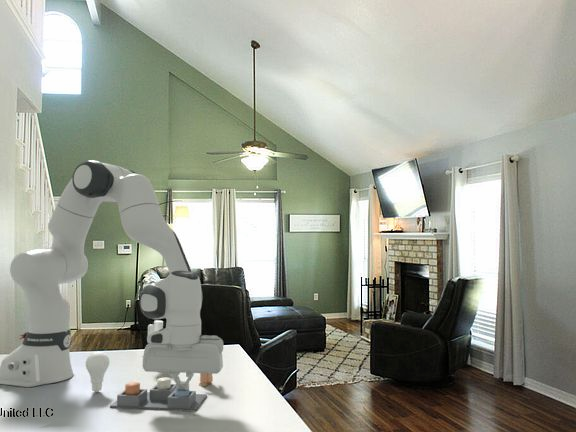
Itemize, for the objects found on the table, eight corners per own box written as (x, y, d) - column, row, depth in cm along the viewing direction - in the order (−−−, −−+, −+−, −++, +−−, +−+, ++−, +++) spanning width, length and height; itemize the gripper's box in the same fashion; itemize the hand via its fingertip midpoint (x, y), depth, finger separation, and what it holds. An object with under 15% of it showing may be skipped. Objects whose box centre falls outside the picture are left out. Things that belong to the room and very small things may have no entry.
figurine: (174, 363, 160) (175, 319, 161) (158, 370, 151) (159, 323, 152) (156, 361, 162) (157, 317, 163) (139, 368, 153) (140, 322, 154)
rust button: (122, 398, 119) (123, 386, 119) (128, 393, 122) (128, 381, 122) (136, 398, 118) (136, 386, 119) (141, 394, 122) (142, 382, 122)
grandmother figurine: (207, 388, 134) (208, 343, 135) (195, 387, 135) (195, 342, 135) (217, 380, 141) (217, 337, 142) (205, 379, 142) (205, 337, 143)
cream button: (154, 392, 123) (155, 381, 123) (159, 388, 127) (159, 377, 127) (168, 393, 123) (168, 381, 123) (172, 389, 126) (172, 377, 127)
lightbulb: (84, 390, 131) (86, 350, 131) (108, 387, 133) (109, 348, 134) (84, 396, 125) (86, 355, 126) (109, 394, 128) (110, 353, 128)
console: (110, 407, 118) (110, 395, 118) (128, 393, 129) (128, 382, 129) (195, 411, 116) (196, 398, 116) (206, 396, 127) (207, 385, 127)
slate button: (172, 403, 118) (172, 391, 118) (177, 398, 121) (177, 387, 121) (186, 404, 117) (186, 392, 118) (190, 399, 121) (191, 387, 121)
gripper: (226, 333, 123) (225, 387, 122) (150, 331, 124) (148, 384, 123) (220, 338, 116) (219, 395, 115) (140, 336, 118) (139, 392, 117)
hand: (182, 389), depth 119 cm, fingers closed, pressing on slate button
